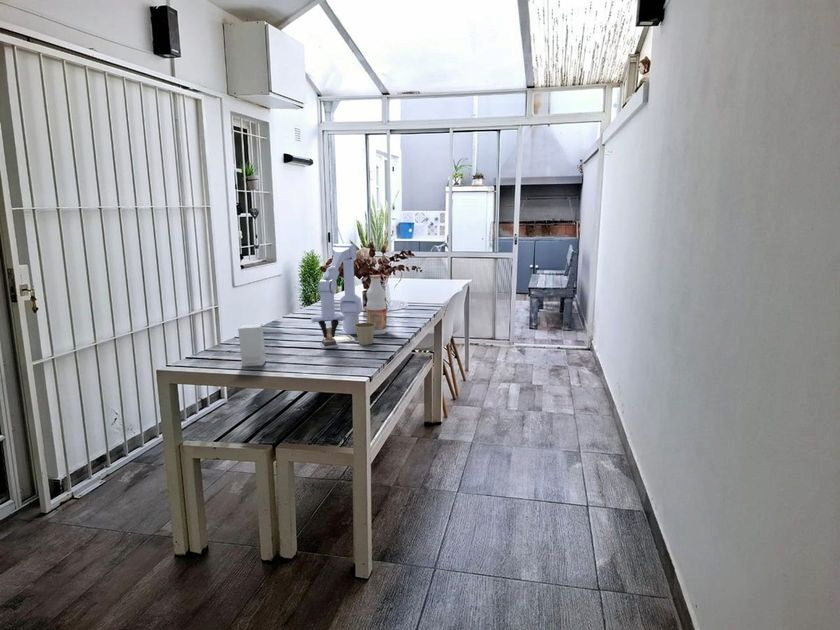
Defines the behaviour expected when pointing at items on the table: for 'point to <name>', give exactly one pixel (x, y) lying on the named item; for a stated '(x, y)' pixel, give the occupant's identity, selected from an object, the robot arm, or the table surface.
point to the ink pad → (329, 345)
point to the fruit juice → (376, 305)
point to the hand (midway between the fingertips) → (329, 337)
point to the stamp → (328, 337)
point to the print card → (343, 338)
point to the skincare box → (252, 345)
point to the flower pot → (365, 333)
